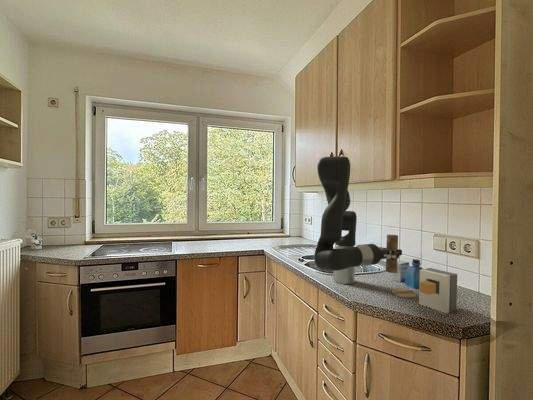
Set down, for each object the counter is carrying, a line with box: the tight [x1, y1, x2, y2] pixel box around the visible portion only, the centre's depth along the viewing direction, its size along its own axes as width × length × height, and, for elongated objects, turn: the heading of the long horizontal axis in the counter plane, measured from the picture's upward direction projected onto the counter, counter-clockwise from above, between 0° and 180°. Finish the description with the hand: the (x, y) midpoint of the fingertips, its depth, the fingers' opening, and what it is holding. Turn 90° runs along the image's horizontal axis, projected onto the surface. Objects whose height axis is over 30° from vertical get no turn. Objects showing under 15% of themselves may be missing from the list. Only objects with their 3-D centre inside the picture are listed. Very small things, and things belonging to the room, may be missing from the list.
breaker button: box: [420, 281, 436, 295], centre depth 107 cm, size 3×4×3 cm
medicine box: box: [391, 260, 410, 283], centre depth 146 cm, size 8×4×9 cm, turn 126°
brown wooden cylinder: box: [385, 234, 399, 274], centre depth 115 cm, size 4×4×14 cm
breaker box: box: [418, 267, 458, 314], centre depth 110 cm, size 10×6×13 cm, turn 29°
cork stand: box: [391, 288, 417, 299], centre depth 124 cm, size 9×9×1 cm
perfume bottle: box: [404, 258, 424, 290], centre depth 136 cm, size 6×6×12 cm
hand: (395, 251), depth 116 cm, fingers closed on brown wooden cylinder, 4 cm apart
